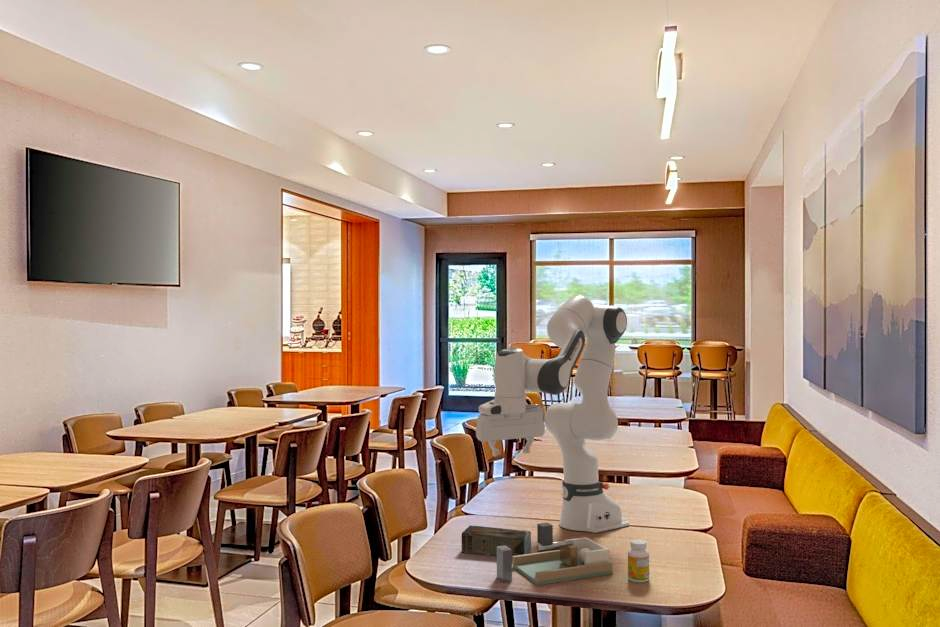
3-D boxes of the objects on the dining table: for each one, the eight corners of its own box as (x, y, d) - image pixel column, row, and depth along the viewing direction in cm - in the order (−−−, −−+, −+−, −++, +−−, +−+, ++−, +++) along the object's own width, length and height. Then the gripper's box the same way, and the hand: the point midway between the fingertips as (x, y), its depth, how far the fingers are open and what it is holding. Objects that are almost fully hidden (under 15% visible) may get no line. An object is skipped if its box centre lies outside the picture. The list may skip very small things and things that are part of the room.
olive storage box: (525, 560, 215) (524, 536, 215) (460, 554, 221) (459, 531, 221) (531, 551, 223) (531, 528, 223) (468, 545, 229) (468, 523, 229)
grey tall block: (505, 575, 202) (505, 545, 202) (512, 580, 198) (511, 549, 198) (496, 577, 201) (496, 546, 201) (503, 582, 197) (502, 550, 197)
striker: (566, 559, 209) (566, 518, 209) (577, 566, 204) (577, 524, 204) (533, 564, 206) (533, 522, 206) (543, 571, 200) (543, 528, 200)
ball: (581, 543, 210) (573, 555, 209) (588, 547, 206) (580, 560, 205) (591, 551, 211) (582, 563, 210) (598, 555, 207) (590, 568, 206)
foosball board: (584, 556, 217) (583, 535, 217) (612, 573, 203) (612, 551, 203) (512, 567, 209) (512, 545, 209) (537, 585, 195) (537, 561, 195)
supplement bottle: (625, 576, 201) (625, 538, 201) (645, 575, 201) (645, 538, 201) (631, 583, 196) (631, 545, 195) (652, 582, 196) (651, 544, 196)
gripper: (538, 402, 225) (539, 449, 226) (473, 406, 218) (474, 455, 218) (548, 404, 219) (549, 453, 220) (481, 409, 212) (482, 459, 212)
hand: (511, 454), depth 219 cm, fingers open, 8 cm apart
